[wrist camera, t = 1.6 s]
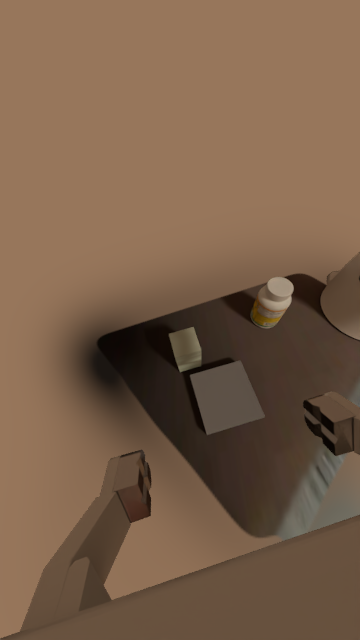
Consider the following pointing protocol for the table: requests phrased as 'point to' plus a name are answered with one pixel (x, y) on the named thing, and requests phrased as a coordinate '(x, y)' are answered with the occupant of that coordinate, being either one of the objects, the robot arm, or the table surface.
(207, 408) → the gray rectangular slab
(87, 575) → the robot arm
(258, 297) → the supplement bottle
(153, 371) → the table surface
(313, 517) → the table surface
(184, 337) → the sage block
